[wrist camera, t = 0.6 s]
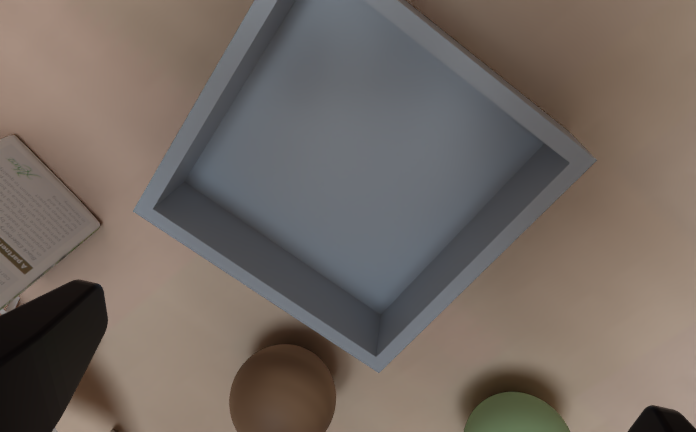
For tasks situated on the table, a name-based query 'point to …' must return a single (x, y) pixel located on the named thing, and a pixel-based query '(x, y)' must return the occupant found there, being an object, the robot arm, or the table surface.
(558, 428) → the green ball
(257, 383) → the walnut ball
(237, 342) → the table surface
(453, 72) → the bin
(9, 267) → the syrup box
